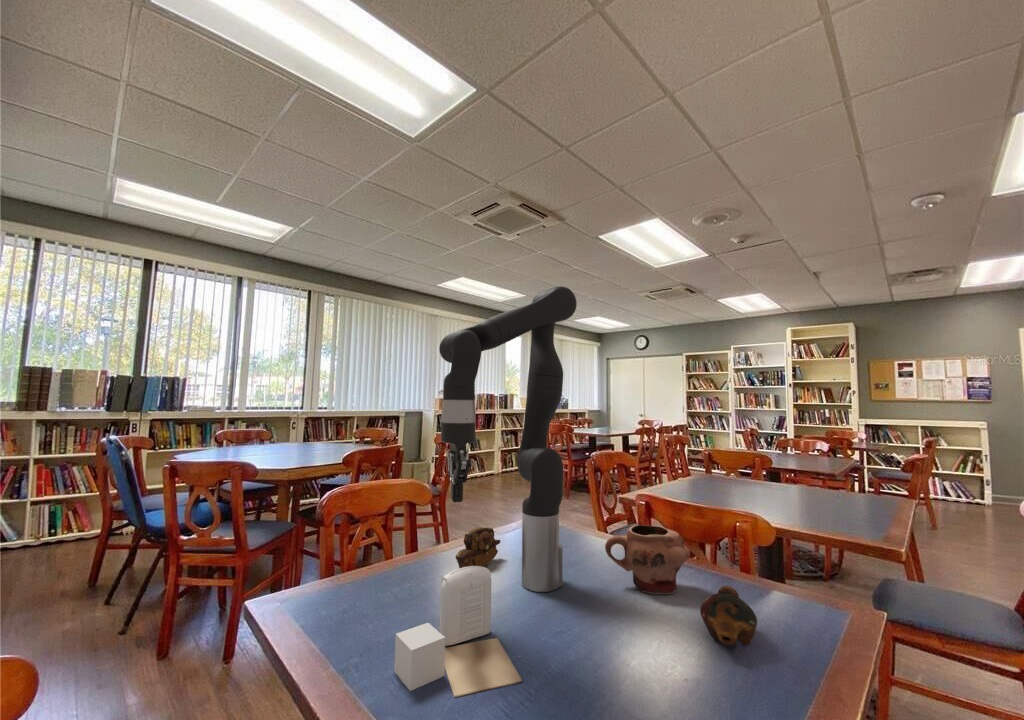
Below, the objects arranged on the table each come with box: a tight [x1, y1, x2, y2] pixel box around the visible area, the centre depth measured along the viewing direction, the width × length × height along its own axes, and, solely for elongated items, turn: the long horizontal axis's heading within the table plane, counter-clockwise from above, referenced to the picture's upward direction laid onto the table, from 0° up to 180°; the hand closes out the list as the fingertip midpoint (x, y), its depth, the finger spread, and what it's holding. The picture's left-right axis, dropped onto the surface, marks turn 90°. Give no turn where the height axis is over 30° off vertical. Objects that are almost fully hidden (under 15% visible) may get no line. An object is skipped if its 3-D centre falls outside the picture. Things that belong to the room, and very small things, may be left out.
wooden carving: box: [455, 526, 502, 569], centre depth 115 cm, size 16×5×10 cm, turn 148°
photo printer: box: [438, 566, 492, 647], centre depth 81 cm, size 10×4×12 cm, turn 123°
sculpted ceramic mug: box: [604, 524, 691, 595], centre depth 103 cm, size 20×12×14 cm, turn 89°
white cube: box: [393, 622, 446, 692], centre depth 69 cm, size 6×6×6 cm
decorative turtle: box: [699, 585, 758, 647], centre depth 80 cm, size 10×15×8 cm, turn 156°
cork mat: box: [444, 637, 523, 698], centre depth 71 cm, size 11×13×1 cm
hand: (456, 500), depth 92 cm, fingers closed
